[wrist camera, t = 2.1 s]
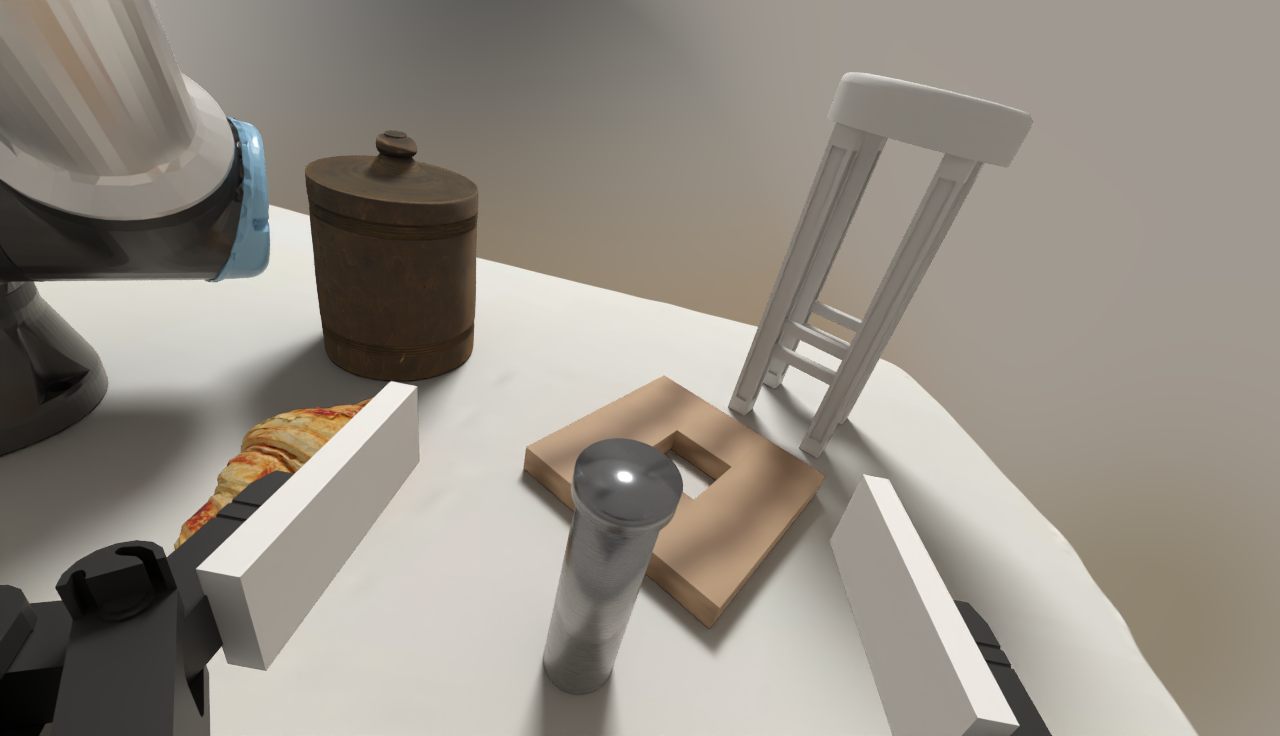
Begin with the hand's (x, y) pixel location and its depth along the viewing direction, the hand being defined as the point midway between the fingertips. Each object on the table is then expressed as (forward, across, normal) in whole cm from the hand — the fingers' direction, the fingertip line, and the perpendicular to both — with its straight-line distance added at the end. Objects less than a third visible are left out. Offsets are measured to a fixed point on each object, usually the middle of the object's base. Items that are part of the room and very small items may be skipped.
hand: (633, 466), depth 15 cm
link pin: (+8, 0, -22) cm, 23 cm away
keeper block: (+26, +6, -21) cm, 34 cm away
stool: (+42, +19, -21) cm, 51 cm away
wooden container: (+37, -26, -20) cm, 50 cm away
